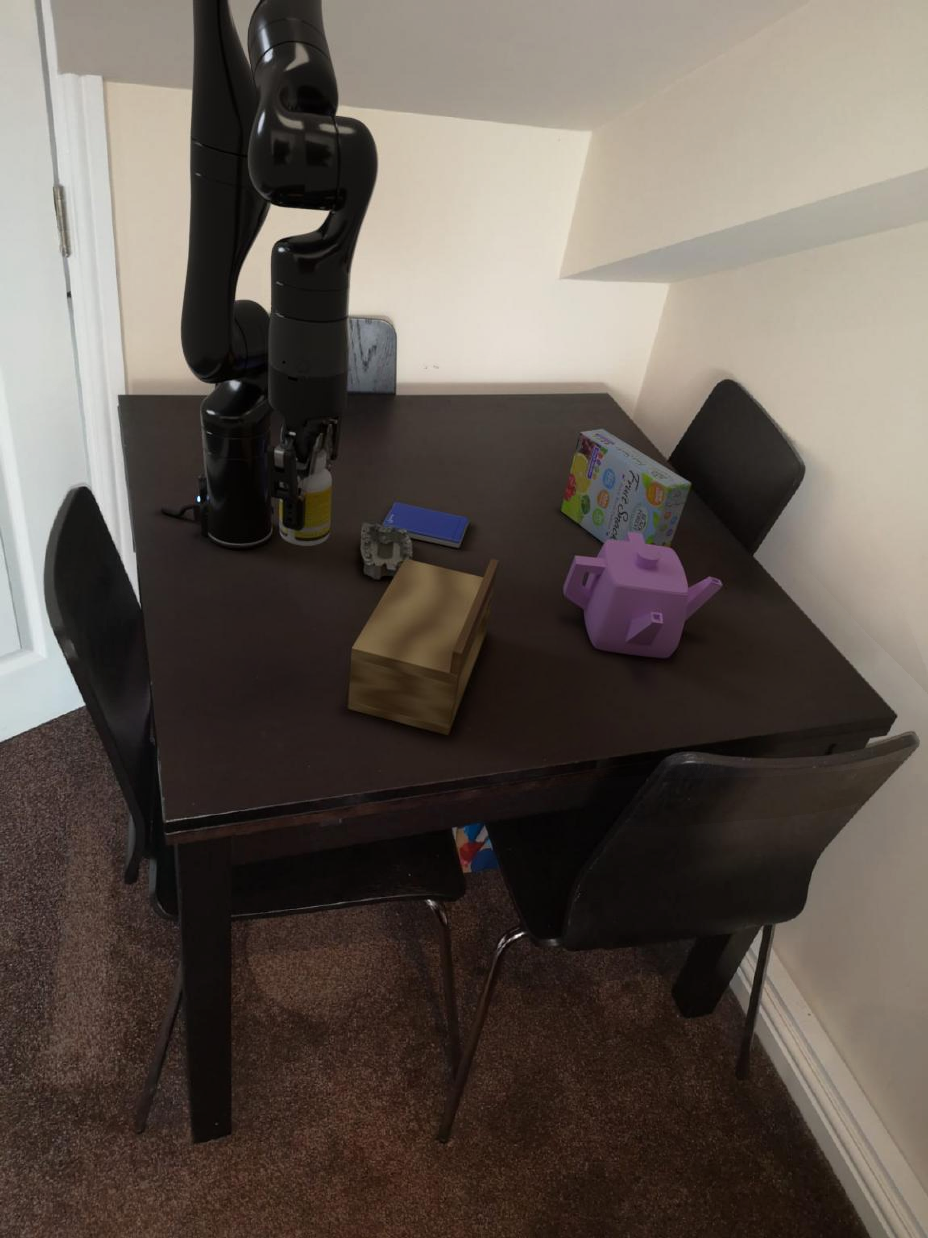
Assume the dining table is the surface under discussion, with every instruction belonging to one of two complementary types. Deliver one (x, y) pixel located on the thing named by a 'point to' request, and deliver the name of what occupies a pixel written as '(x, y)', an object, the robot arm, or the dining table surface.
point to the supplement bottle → (313, 507)
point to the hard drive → (428, 524)
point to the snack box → (622, 491)
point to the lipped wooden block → (421, 645)
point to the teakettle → (635, 597)
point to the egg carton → (384, 549)
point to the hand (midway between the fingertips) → (304, 514)
